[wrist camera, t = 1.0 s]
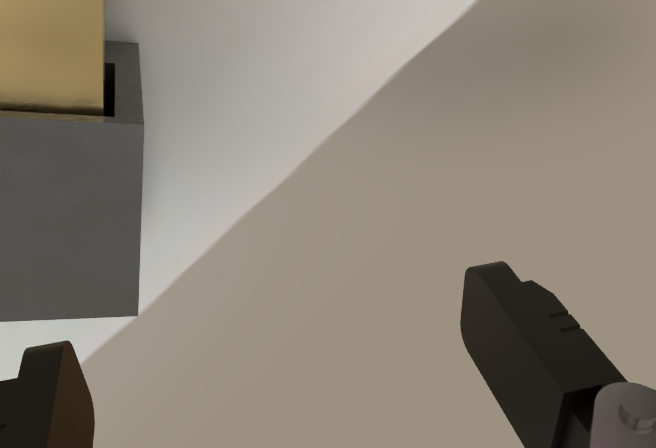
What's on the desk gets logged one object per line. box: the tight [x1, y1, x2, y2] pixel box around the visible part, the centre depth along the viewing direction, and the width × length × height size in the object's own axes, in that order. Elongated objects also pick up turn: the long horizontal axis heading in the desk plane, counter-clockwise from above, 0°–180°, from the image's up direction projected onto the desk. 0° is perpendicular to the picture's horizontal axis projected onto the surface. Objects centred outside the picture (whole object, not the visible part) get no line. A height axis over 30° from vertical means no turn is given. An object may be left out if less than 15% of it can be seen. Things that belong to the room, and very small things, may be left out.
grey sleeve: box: [0, 41, 144, 322], centre depth 27 cm, size 7×10×8 cm
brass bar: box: [0, 0, 105, 116], centre depth 23 cm, size 4×21×4 cm, turn 169°
